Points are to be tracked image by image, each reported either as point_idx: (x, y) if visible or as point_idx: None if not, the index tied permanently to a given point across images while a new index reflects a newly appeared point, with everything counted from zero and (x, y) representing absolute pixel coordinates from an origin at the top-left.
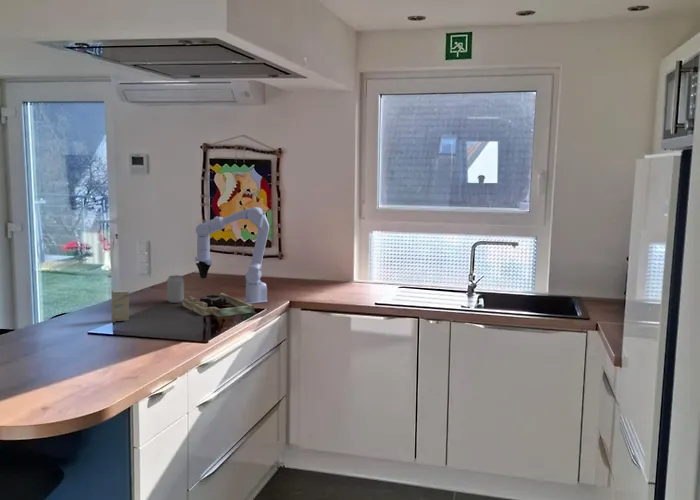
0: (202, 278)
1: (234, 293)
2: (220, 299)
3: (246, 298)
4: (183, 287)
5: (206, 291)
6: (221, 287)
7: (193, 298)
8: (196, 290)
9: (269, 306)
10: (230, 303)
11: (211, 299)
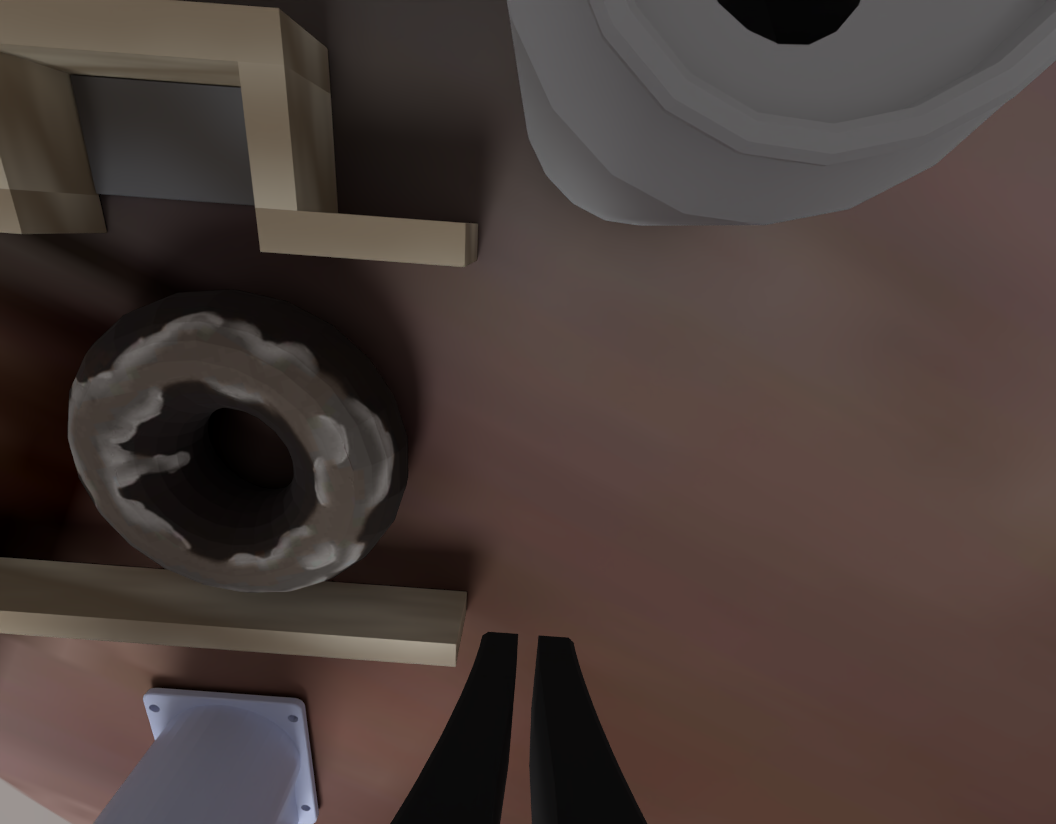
0: (484, 637)
1: (636, 784)
2: (87, 487)
3: (208, 729)
4: (566, 165)
5: (897, 664)
6: (939, 820)
7: (282, 217)
8: (1025, 617)
9: (22, 745)
10: None
11: (77, 384)
